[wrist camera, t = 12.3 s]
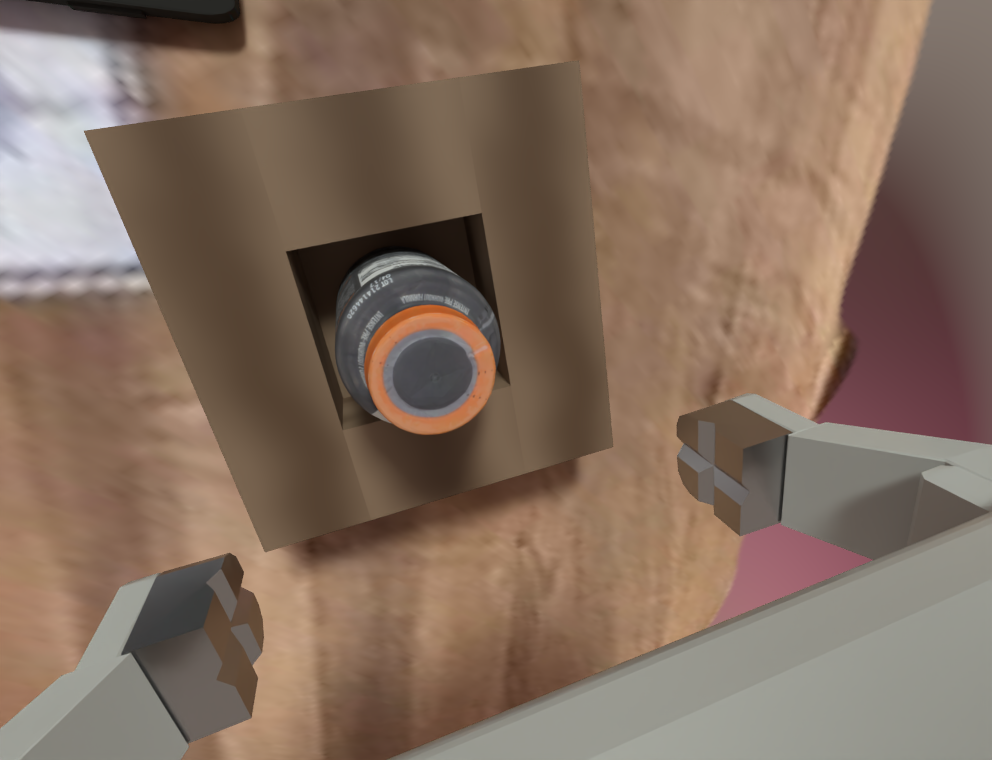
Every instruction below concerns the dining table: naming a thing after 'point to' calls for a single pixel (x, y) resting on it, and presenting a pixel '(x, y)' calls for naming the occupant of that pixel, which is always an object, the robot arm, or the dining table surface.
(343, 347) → the pill bottle
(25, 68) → the dining table surface
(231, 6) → the smart home device
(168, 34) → the dining table surface
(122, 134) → the walnut holder
